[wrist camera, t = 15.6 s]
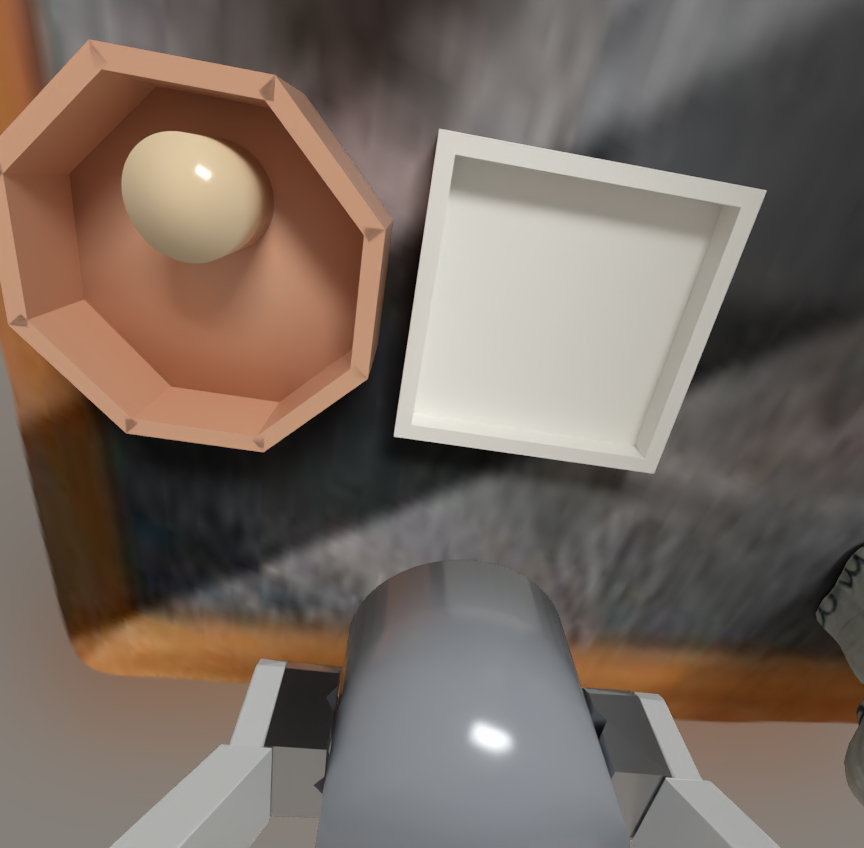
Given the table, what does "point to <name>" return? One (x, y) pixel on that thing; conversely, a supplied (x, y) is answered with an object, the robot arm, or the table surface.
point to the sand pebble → (196, 195)
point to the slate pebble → (464, 722)
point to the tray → (563, 301)
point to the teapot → (849, 650)
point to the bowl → (179, 281)
